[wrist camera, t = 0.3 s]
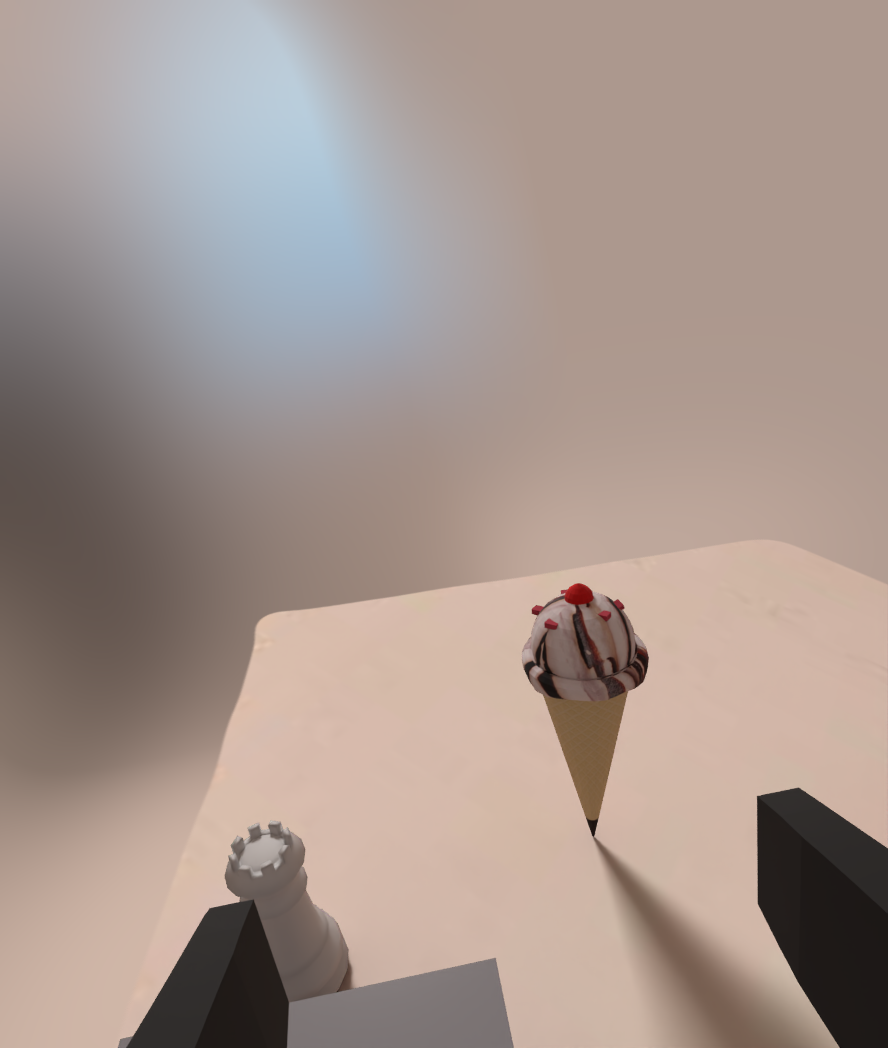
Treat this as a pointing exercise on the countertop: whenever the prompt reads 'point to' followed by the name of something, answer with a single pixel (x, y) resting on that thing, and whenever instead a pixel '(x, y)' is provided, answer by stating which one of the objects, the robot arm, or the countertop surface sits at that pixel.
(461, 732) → the countertop surface
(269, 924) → the rook chess piece
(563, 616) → the ice cream cone
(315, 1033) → the gray block
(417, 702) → the countertop surface
